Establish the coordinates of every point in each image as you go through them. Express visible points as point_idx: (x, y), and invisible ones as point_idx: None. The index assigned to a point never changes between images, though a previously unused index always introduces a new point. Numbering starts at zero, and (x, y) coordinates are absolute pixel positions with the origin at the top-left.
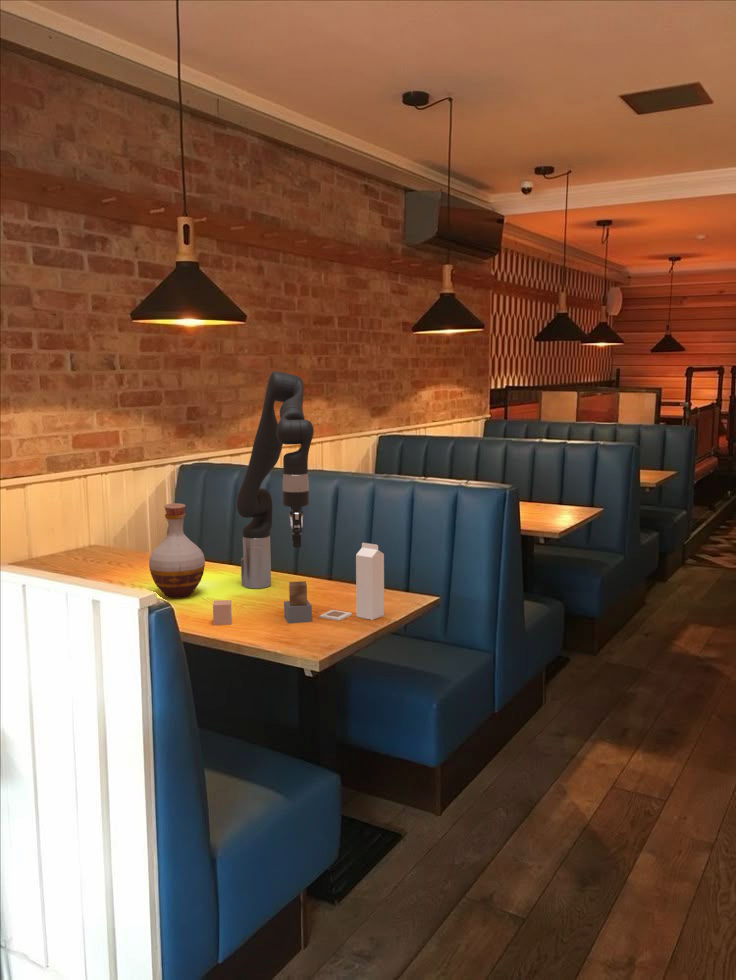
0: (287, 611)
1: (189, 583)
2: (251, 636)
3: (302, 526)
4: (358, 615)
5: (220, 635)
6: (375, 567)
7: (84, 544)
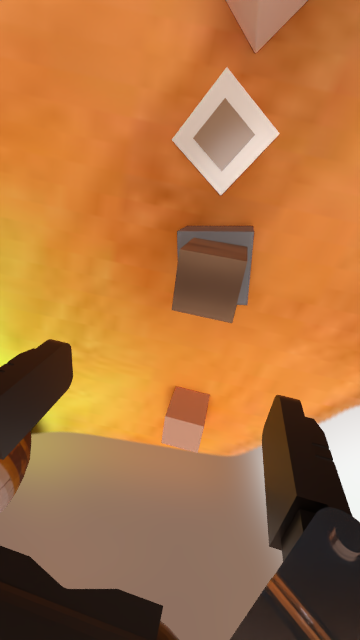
0: None
1: None
2: (310, 382)
3: (285, 602)
4: (264, 42)
5: None
6: None
7: None
